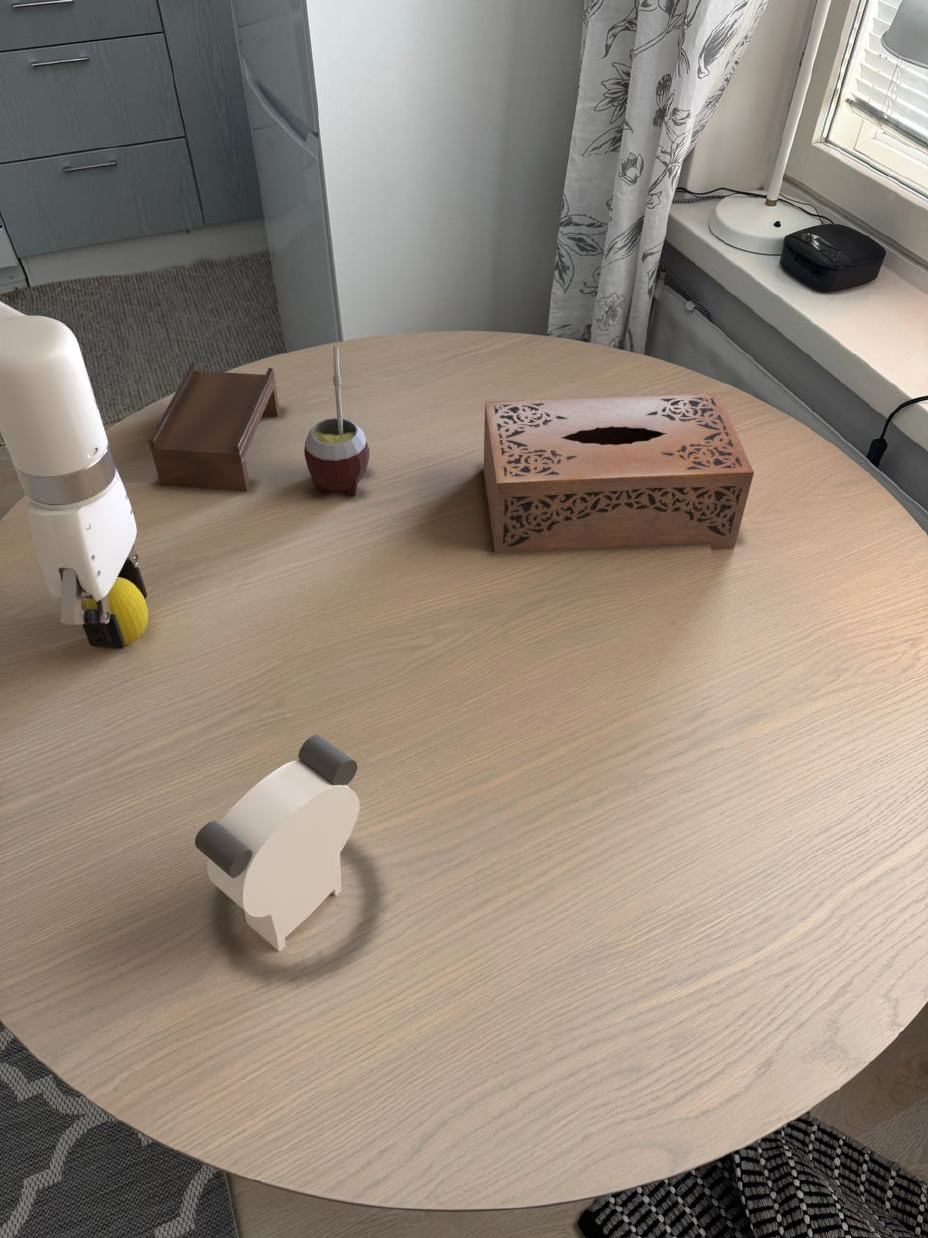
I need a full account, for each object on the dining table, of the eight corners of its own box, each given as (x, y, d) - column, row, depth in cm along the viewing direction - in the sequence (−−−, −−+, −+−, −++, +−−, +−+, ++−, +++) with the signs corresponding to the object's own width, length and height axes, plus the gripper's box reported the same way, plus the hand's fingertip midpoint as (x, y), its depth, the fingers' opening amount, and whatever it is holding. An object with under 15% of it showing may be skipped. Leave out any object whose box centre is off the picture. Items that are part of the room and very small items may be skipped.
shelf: (162, 491, 113) (148, 440, 108) (202, 412, 124) (191, 362, 119) (248, 497, 112) (238, 446, 107) (281, 417, 124) (273, 367, 119)
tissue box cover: (702, 466, 117) (718, 392, 110) (734, 547, 107) (754, 472, 99) (483, 475, 115) (484, 401, 108) (494, 558, 105) (497, 483, 98)
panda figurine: (306, 816, 83) (283, 700, 72) (408, 895, 78) (399, 783, 67) (193, 919, 76) (149, 808, 66) (296, 1012, 71) (267, 909, 61)
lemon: (148, 613, 99) (129, 554, 94) (161, 650, 96) (143, 591, 90) (92, 631, 98) (69, 571, 92) (103, 669, 94) (81, 609, 89)
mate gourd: (332, 517, 110) (318, 401, 99) (294, 483, 114) (276, 368, 104) (387, 491, 113) (379, 375, 103) (348, 458, 118) (336, 344, 107)
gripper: (62, 406, 88) (113, 558, 101) (-24, 532, 76) (46, 686, 89) (145, 411, 88) (185, 563, 101) (71, 539, 76) (127, 693, 89)
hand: (119, 619), depth 95 cm, fingers closed on lemon, 5 cm apart
